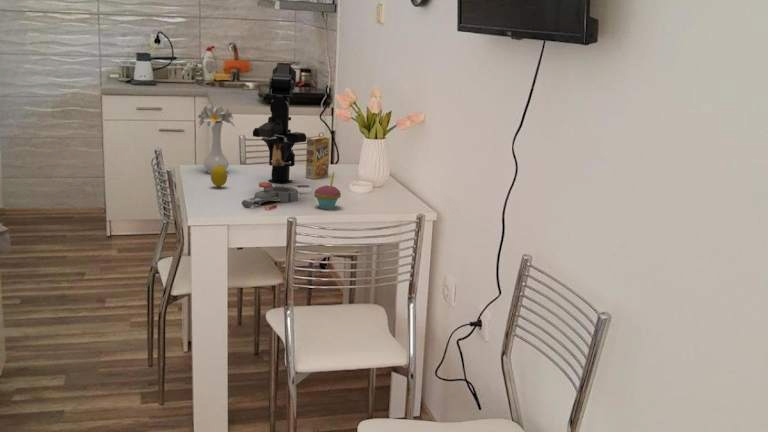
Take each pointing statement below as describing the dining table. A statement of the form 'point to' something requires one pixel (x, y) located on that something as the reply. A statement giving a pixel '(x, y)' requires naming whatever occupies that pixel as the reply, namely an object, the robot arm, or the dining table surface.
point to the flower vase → (215, 135)
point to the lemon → (218, 176)
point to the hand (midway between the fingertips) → (278, 160)
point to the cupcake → (327, 195)
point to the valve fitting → (277, 192)
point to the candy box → (317, 157)
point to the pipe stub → (277, 155)
